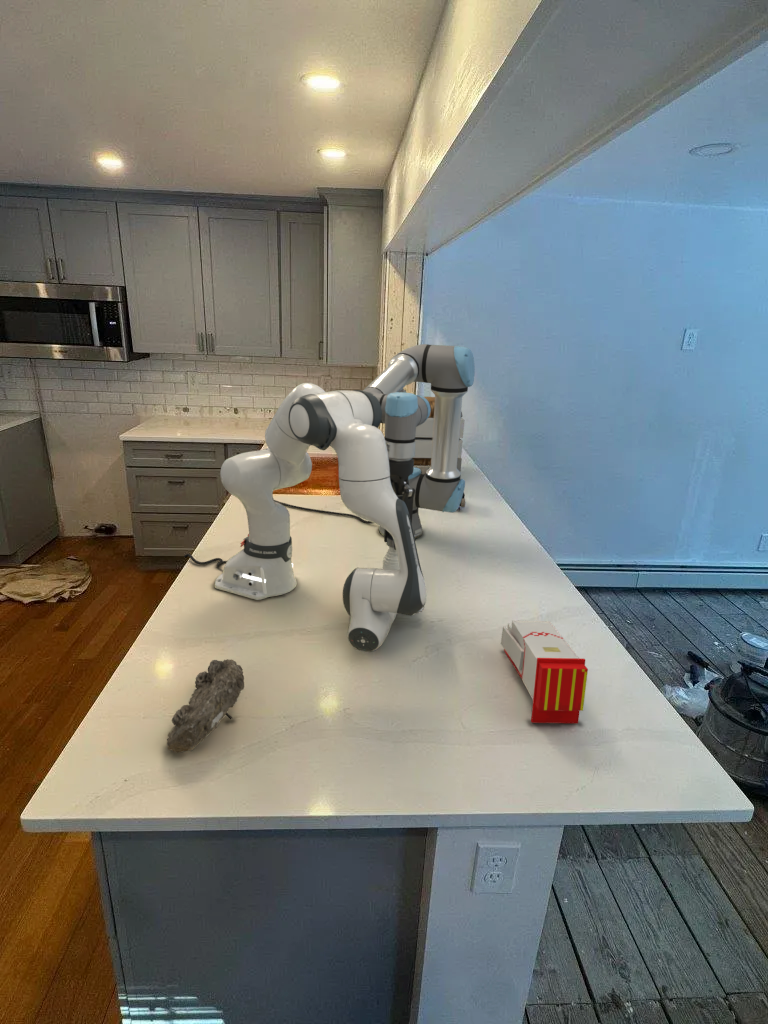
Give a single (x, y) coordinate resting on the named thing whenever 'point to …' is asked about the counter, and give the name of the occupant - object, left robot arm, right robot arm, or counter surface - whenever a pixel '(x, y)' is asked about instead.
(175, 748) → the fossil
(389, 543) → the cap
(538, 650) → the toy
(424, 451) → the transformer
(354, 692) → the counter surface
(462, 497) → the figurine character
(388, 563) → the bottle
